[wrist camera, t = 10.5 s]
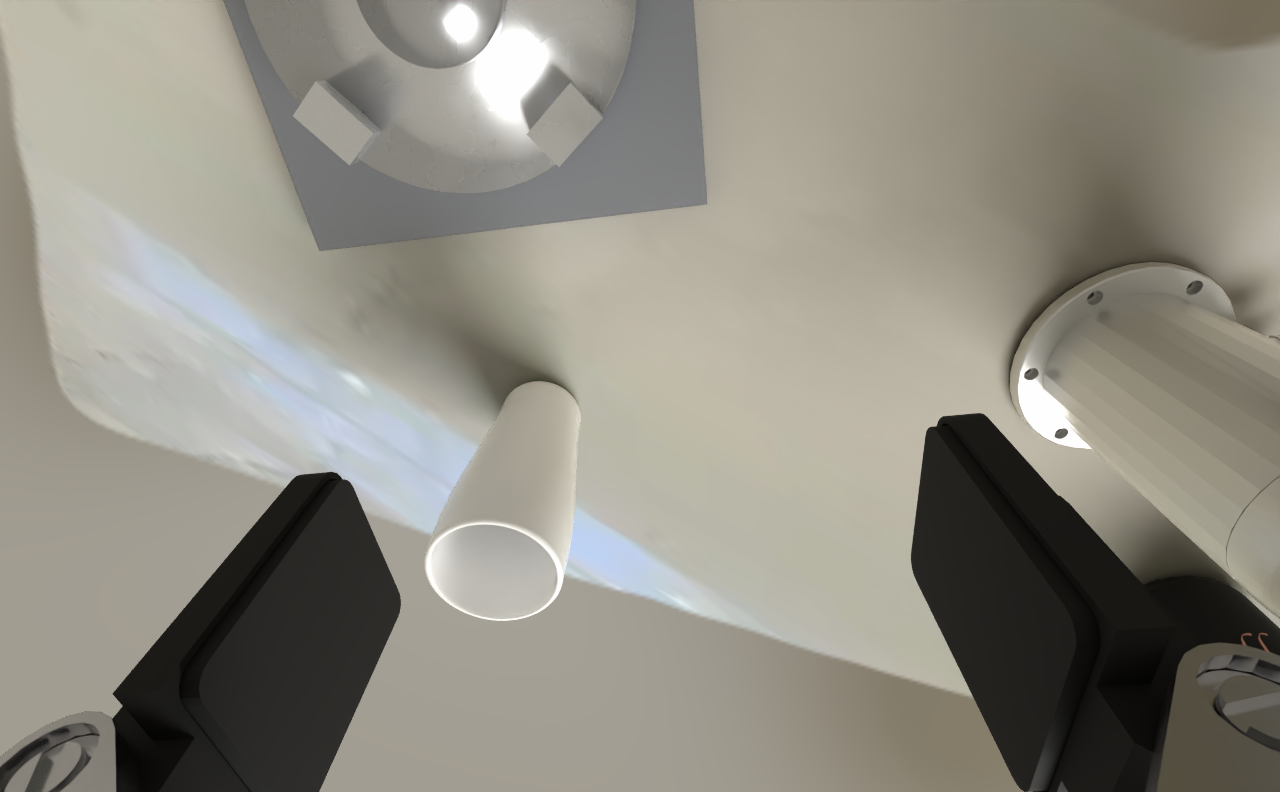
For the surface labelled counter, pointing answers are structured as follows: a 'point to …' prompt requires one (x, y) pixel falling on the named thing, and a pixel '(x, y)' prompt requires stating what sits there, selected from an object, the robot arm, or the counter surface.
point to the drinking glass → (511, 510)
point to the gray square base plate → (579, 189)
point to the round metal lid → (449, 81)
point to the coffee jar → (1215, 613)
